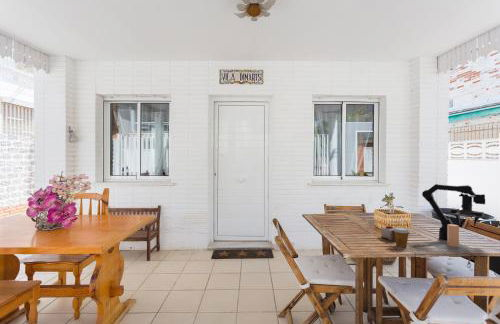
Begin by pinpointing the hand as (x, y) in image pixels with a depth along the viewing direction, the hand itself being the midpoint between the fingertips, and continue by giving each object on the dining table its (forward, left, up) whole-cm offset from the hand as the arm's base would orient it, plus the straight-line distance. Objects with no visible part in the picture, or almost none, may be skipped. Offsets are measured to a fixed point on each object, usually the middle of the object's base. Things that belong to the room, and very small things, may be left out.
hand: (466, 224), depth 209 cm
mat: (-6, -19, -13) cm, 24 cm away
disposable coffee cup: (-25, -45, -13) cm, 53 cm away
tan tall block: (-3, -17, -12) cm, 22 cm away
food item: (-39, -34, -13) cm, 53 cm away
